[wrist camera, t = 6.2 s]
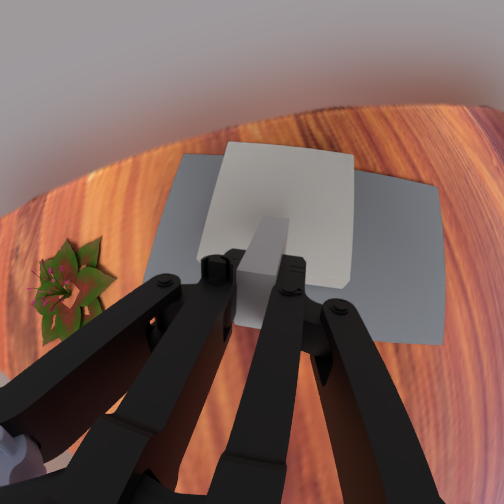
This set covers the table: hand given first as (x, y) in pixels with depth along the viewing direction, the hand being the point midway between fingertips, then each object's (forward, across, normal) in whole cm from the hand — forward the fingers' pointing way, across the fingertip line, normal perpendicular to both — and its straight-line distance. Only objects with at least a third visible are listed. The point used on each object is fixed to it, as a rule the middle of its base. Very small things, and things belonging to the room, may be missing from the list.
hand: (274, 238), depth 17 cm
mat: (+5, -2, +2) cm, 6 cm away
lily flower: (0, +18, +8) cm, 20 cm away
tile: (+1, 0, +3) cm, 3 cm away
